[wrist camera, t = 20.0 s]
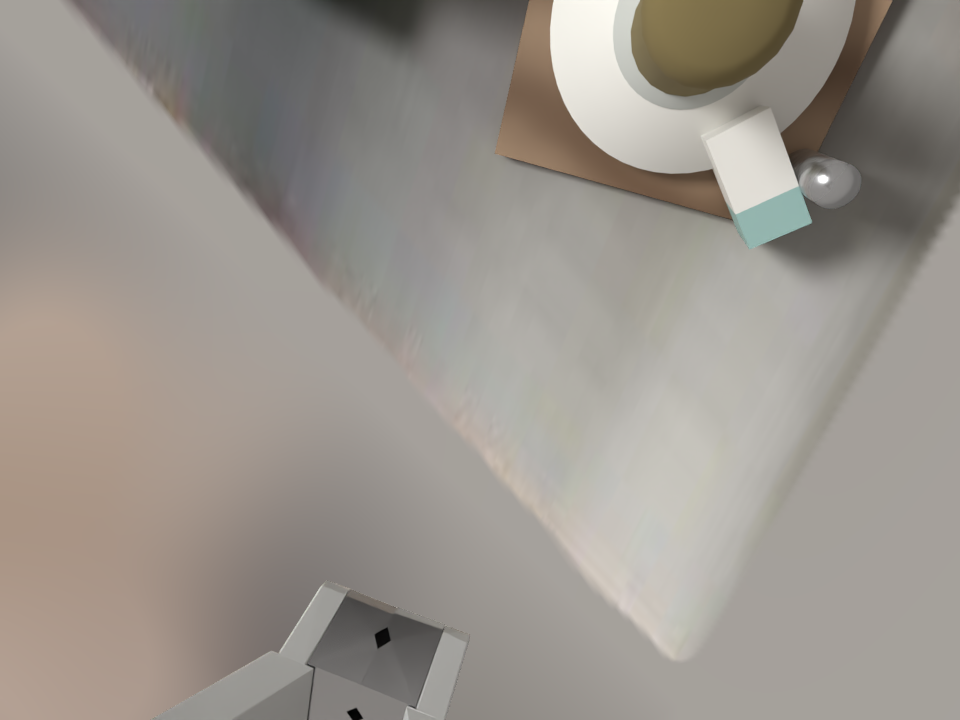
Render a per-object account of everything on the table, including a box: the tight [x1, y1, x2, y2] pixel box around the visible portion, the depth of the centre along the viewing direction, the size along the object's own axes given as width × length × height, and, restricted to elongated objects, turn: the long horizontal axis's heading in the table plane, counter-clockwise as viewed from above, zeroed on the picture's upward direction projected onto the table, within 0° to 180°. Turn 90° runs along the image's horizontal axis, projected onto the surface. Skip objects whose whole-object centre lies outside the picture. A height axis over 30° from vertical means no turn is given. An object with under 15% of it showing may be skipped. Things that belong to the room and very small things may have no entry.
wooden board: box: [495, 0, 893, 220], centre depth 29 cm, size 17×17×1 cm
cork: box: [631, 0, 803, 97], centre depth 23 cm, size 6×6×11 cm
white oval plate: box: [550, 0, 856, 249], centre depth 27 cm, size 18×14×4 cm
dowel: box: [788, 149, 862, 209], centre depth 28 cm, size 2×2×7 cm
